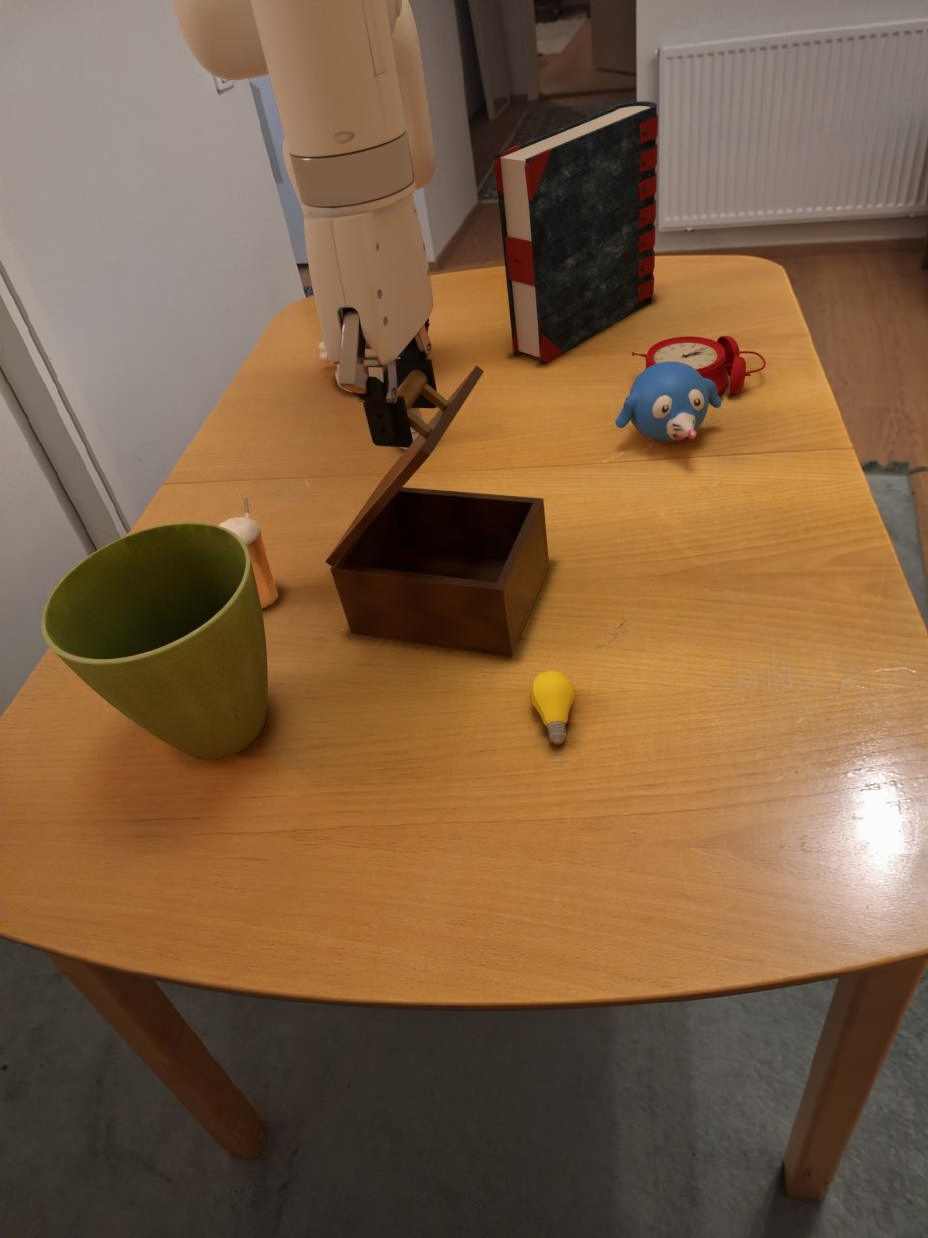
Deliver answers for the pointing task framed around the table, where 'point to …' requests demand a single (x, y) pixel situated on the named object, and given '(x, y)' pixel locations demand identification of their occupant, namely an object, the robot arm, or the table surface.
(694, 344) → the alarm clock
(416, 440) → the lid
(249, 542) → the milkshake
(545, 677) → the light bulb
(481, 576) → the chest
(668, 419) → the blue dog toy
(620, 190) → the book
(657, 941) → the table surface
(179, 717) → the flower pot
